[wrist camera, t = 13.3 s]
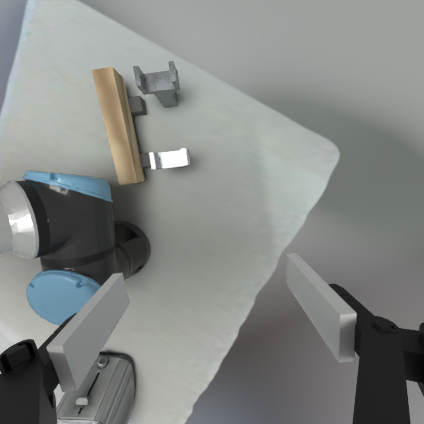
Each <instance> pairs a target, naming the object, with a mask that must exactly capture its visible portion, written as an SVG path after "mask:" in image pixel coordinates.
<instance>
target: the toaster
mask: <svg viewBox="0 0 424 424" xmlns="http://www.w3.org/2000/svg"><path fill="white" fill-rule="evenodd" d="M134 392H135V387H134V371H133V364H132V361H131V359H130V357H128V356H126V355H101V354H99V355H98V357H97V358H96V360H95V362H94V364H93V365H92V367H91V369H90V370H89V372H88V374H87V375H86V377H85V379H84V380H83V382H82V384H81V385H80V387H79V389H78V390H77V391H67V392H65V394H64V396H63V398H62V399H61V401H60V403H59V405H58V407H57V408H56V413H57V424H127V423H128V420H129V418H130V415H131V412H132V408H133V403H134Z"/></svg>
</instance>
